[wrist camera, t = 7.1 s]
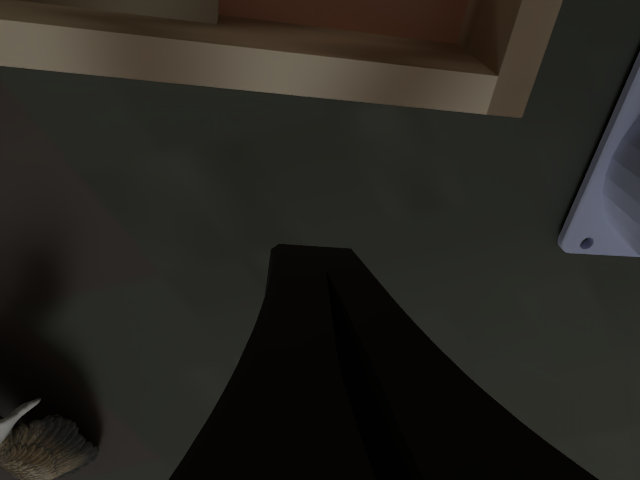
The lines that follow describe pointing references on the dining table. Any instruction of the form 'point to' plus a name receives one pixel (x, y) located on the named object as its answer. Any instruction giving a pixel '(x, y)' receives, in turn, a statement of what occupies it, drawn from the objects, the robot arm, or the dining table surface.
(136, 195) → the dining table surface
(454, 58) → the frame
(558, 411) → the dining table surface
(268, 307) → the robot arm
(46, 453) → the eagle figurine
